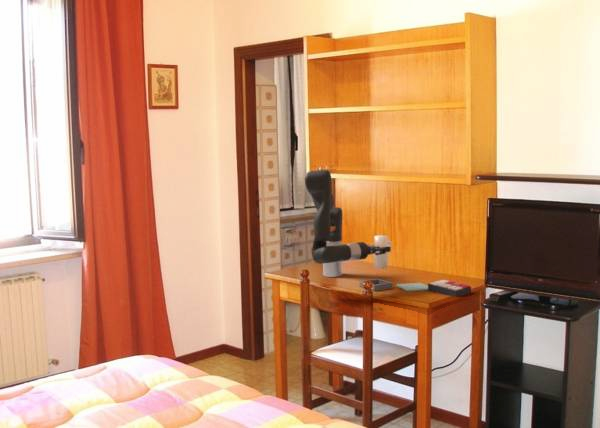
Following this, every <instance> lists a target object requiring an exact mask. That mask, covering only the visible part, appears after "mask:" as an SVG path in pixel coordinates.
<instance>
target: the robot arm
mask: <svg viewBox="0 0 600 428" xmlns="http://www.w3.org/2000/svg"><path fill="white" fill-rule="evenodd" d="M332 180H333V179H332V175H331V172H330V170H328V169H320V170H319V169H317V170H310V171H308V172H306V173H305V176H304V185H305V189H306V190H307V192H308V194H309V195H310V197H311V198H312V202H313V204H314V207H315V209H316V211H317V212H316V214H315V216H314V218H313V233H314V237H313V242H312V248H311V256H312V259H313V261H314V262H315V264H319V265H320V264H321V265H322V276H323V277H328V278H338V277H341V276H343V262H347V261H359V260H365V259H367V257H369V256H374V254H375V255H380V254H386V252H388V253H391V252H392V246H391V247H379V246H374V244H370V243H368V244H367V243H366V242H364V241H358V242H350V243H346V244H345V243H344V244H343V238H342V237H343V209H342V208H341V207H334V206H335V198H334V195H333V193H332V189H333V188H332V186H333V185H332V184H333V183H332V182H333V181H332ZM331 227H334V229H333V230H331ZM376 248H377V249H376ZM390 251H391V252H390Z"/></svg>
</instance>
